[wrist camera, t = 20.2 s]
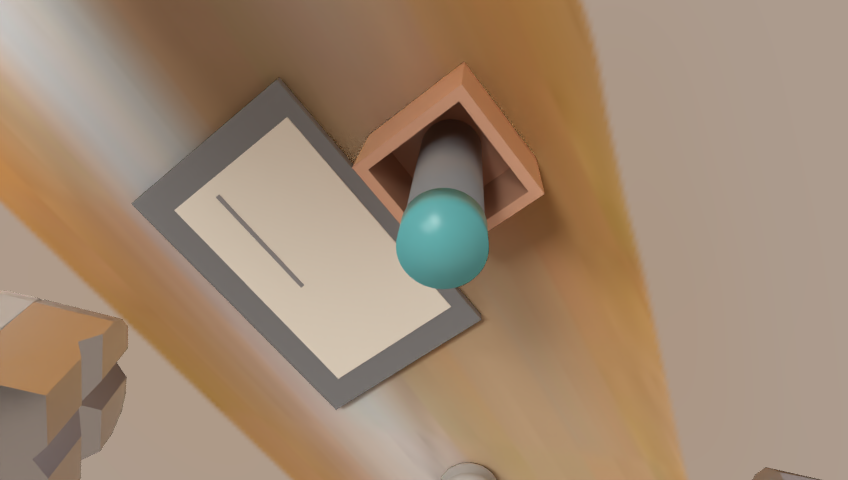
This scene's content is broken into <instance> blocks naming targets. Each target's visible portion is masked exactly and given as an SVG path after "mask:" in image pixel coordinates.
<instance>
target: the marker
mask: <svg viewBox="0 0 848 480" xmlns="http://www.w3.org/2000/svg"><path fill="white" fill-rule="evenodd" d="M488 252H489V242H488V224H487V219H486V216H485V211H484V190H483V170H482V149H481V141H480V138H479V136H478V134H477V133H476V131H475V130H474V129H473V128H472V127H471V126H470V125H468V124H467V123H465V122H463V121H460V120H455V119H447V120H442V121H439V122H437V123H435V124H434V125H432V126H431V127H430V128H429V129H428V130H427V132H426V133H425V135H424V137H423V139H422V143H421V147H420V151H419V156H418V160H417V164H416V169H415V173H414V177H413V181H412V186H411V190H410V194H409V199H408V203H407V207H406V209H405V211H404V213H403V216H402V219H401V223H400V227H399V231H398V235H397V240H396V253H397V257H398V260H399V262H400V264H401V266H402V268H403V269H404V271H405V272H406V273H407V274H408V275H409V276H410V277H411V278H412V279H414V280H415V281H417V282H418V283H420V284H422V285H424V286H427V287H430V288H435V289H451V288H456V287H459V286H462V285H464V284H466V283H468V282H470V281H471V280H472V279H474V278H475V277H476V276H477V275H478V274H479V273H480V272H481V270H482V269H483V267H484V265H485V263H486V261H487V257H488Z"/></svg>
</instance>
